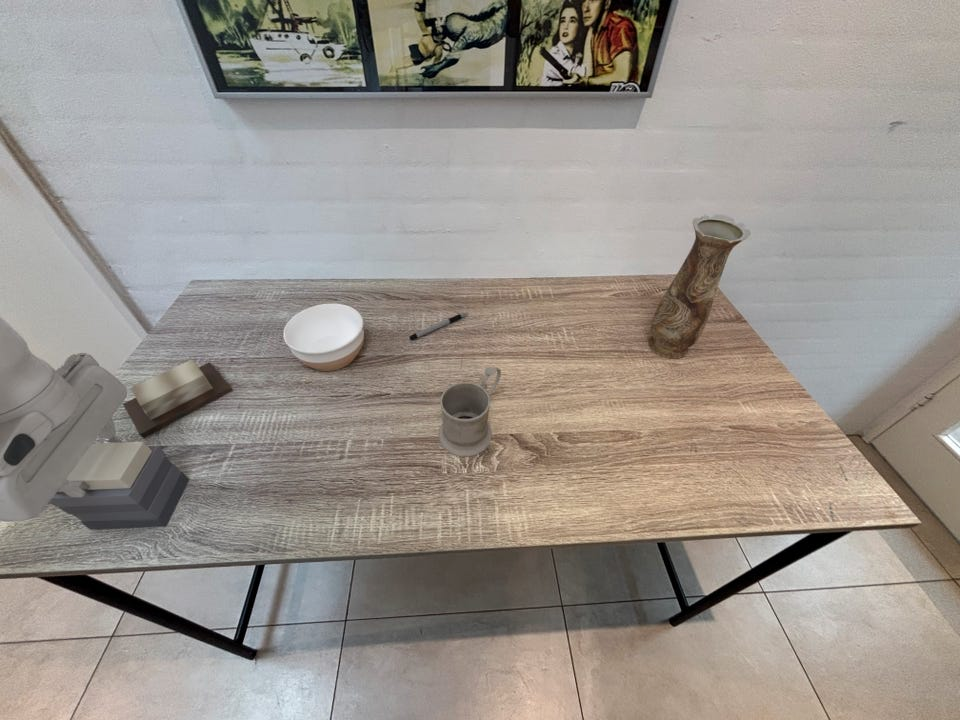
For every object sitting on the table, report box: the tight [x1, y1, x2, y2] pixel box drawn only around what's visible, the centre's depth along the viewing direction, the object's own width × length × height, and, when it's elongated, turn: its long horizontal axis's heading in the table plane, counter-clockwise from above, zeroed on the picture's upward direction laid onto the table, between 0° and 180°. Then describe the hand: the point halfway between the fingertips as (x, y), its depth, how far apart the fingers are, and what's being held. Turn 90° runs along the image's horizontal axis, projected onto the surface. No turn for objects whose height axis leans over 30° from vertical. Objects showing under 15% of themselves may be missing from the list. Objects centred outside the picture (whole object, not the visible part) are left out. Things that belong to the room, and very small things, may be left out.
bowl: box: [282, 303, 365, 372], centre depth 88 cm, size 16×16×8 cm
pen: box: [409, 312, 468, 341], centre depth 97 cm, size 1×16×1 cm, turn 127°
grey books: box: [48, 445, 190, 531], centre depth 62 cm, size 11×8×10 cm
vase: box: [647, 214, 751, 360], centre depth 85 cm, size 10×11×30 cm
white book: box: [67, 441, 152, 490], centre depth 57 cm, size 11×6×2 cm, turn 93°
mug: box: [438, 366, 502, 458], centre depth 73 cm, size 14×10×12 cm
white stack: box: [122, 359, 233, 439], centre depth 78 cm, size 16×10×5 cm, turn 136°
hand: (98, 468), depth 57 cm, fingers closed on white book, 6 cm apart
